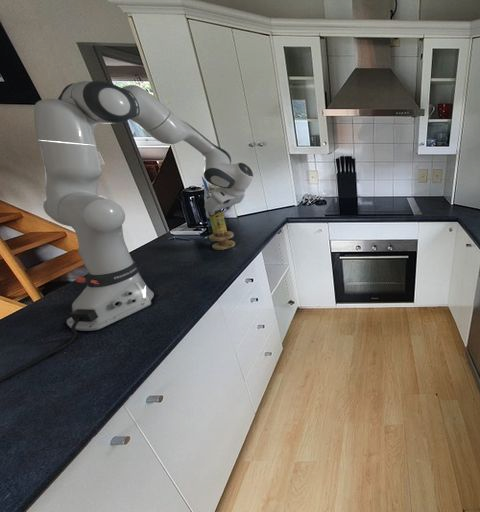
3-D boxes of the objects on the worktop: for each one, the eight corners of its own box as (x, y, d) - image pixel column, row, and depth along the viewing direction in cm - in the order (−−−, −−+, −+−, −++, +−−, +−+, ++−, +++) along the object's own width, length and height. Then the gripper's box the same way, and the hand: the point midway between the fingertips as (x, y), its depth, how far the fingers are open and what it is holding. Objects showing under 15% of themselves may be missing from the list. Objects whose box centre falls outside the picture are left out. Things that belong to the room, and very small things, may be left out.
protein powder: (223, 223, 174) (210, 175, 161) (230, 234, 156) (216, 181, 143) (206, 226, 169) (191, 176, 155) (211, 238, 151) (195, 183, 138)
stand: (224, 251, 136) (221, 239, 133) (206, 248, 139) (203, 237, 136) (240, 242, 146) (237, 232, 143) (223, 240, 148) (220, 230, 145)
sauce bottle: (221, 237, 136) (211, 198, 127) (211, 236, 137) (199, 197, 128) (231, 233, 142) (221, 195, 133) (220, 232, 143) (210, 194, 134)
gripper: (241, 183, 135) (230, 201, 142) (208, 192, 117) (196, 212, 124) (251, 192, 136) (239, 210, 143) (219, 203, 118) (207, 222, 125)
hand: (219, 211), depth 133 cm, fingers open, 8 cm apart
